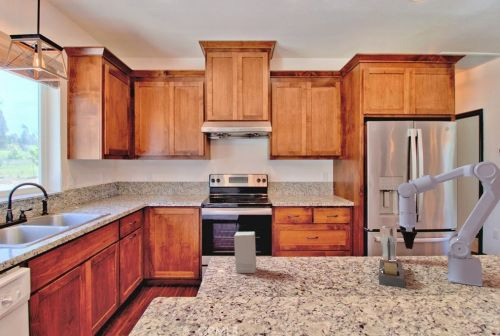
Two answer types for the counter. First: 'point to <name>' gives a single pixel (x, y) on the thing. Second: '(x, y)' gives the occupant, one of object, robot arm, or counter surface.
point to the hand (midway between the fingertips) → (408, 246)
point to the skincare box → (245, 252)
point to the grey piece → (391, 279)
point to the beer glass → (388, 242)
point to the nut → (390, 268)
